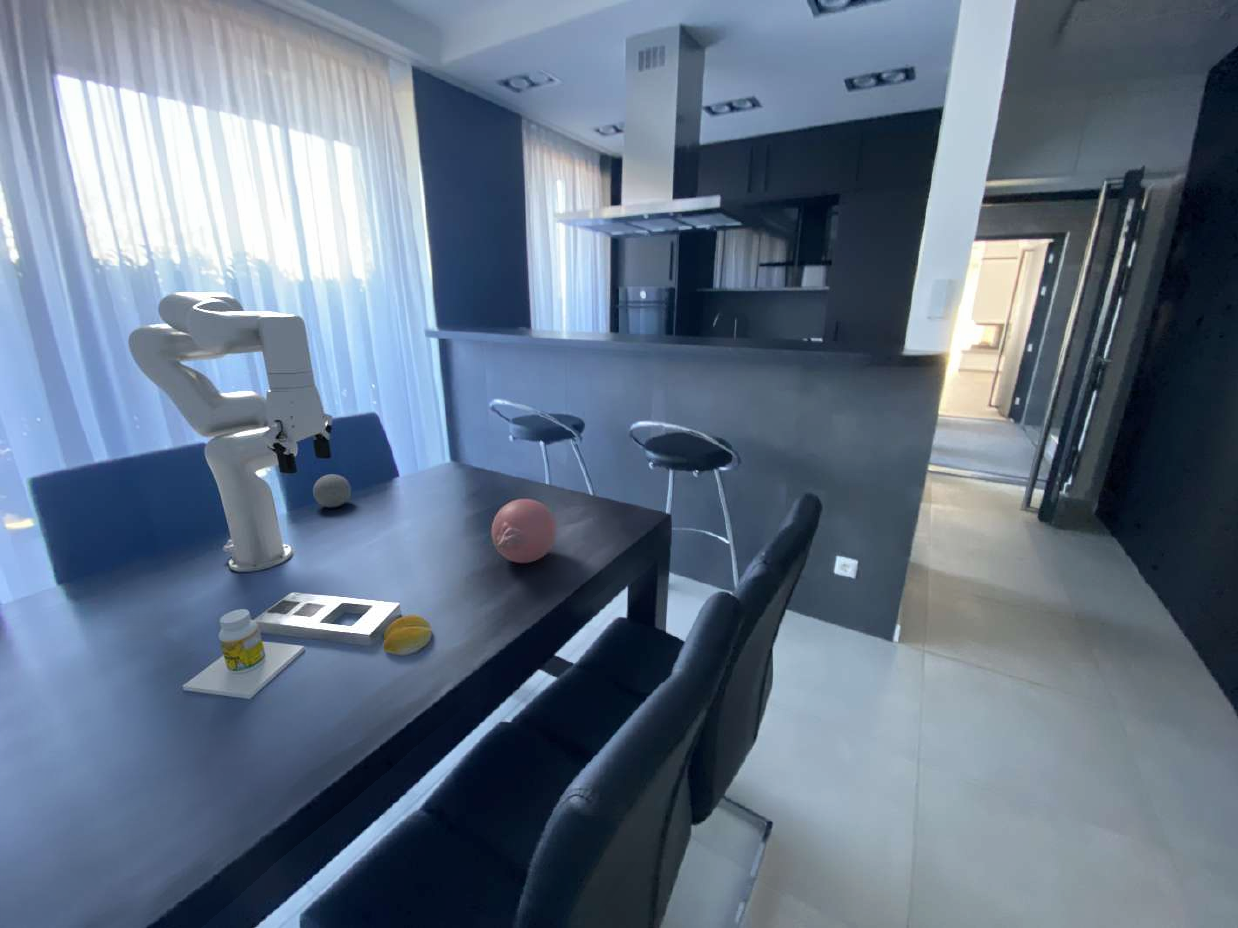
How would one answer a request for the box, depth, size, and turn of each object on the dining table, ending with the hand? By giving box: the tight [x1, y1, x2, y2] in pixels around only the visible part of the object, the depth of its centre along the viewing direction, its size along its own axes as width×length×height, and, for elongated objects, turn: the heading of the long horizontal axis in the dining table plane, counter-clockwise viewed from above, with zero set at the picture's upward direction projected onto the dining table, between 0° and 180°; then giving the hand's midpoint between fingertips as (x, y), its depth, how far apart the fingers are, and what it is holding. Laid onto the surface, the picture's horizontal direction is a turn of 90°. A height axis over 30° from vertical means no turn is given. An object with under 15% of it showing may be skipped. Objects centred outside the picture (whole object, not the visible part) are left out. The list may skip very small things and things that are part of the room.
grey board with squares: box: [253, 591, 402, 647], centre depth 99 cm, size 24×10×3 cm, turn 82°
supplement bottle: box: [218, 608, 266, 674], centre depth 85 cm, size 5×5×10 cm
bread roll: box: [382, 614, 433, 656], centre depth 94 cm, size 8×9×4 cm
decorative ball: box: [312, 473, 352, 508], centre depth 153 cm, size 10×10×10 cm
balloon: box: [491, 498, 557, 564], centre depth 120 cm, size 15×20×15 cm
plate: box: [182, 640, 306, 700], centre depth 87 cm, size 12×12×1 cm
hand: (307, 465), depth 103 cm, fingers open, 9 cm apart
